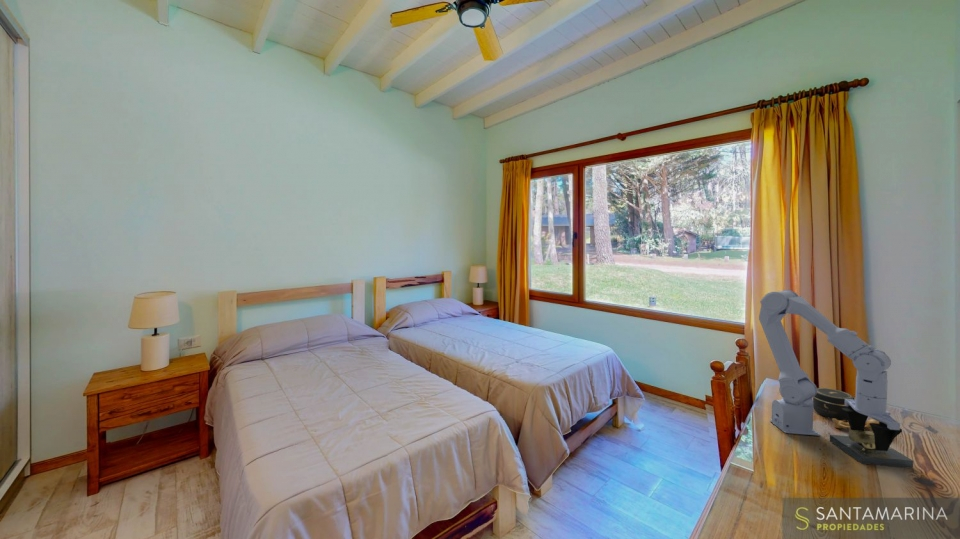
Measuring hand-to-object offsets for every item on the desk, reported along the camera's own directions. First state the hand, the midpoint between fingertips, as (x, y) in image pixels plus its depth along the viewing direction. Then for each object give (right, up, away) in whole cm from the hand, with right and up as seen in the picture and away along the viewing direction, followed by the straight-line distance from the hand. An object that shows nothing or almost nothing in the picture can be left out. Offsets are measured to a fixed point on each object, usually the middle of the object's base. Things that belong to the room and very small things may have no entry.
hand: (869, 442), depth 96 cm
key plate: (0, -3, 0) cm, 3 cm away
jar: (+13, -2, +23) cm, 26 cm away
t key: (0, -3, 0) cm, 3 cm away
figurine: (+16, -2, +10) cm, 19 cm away
